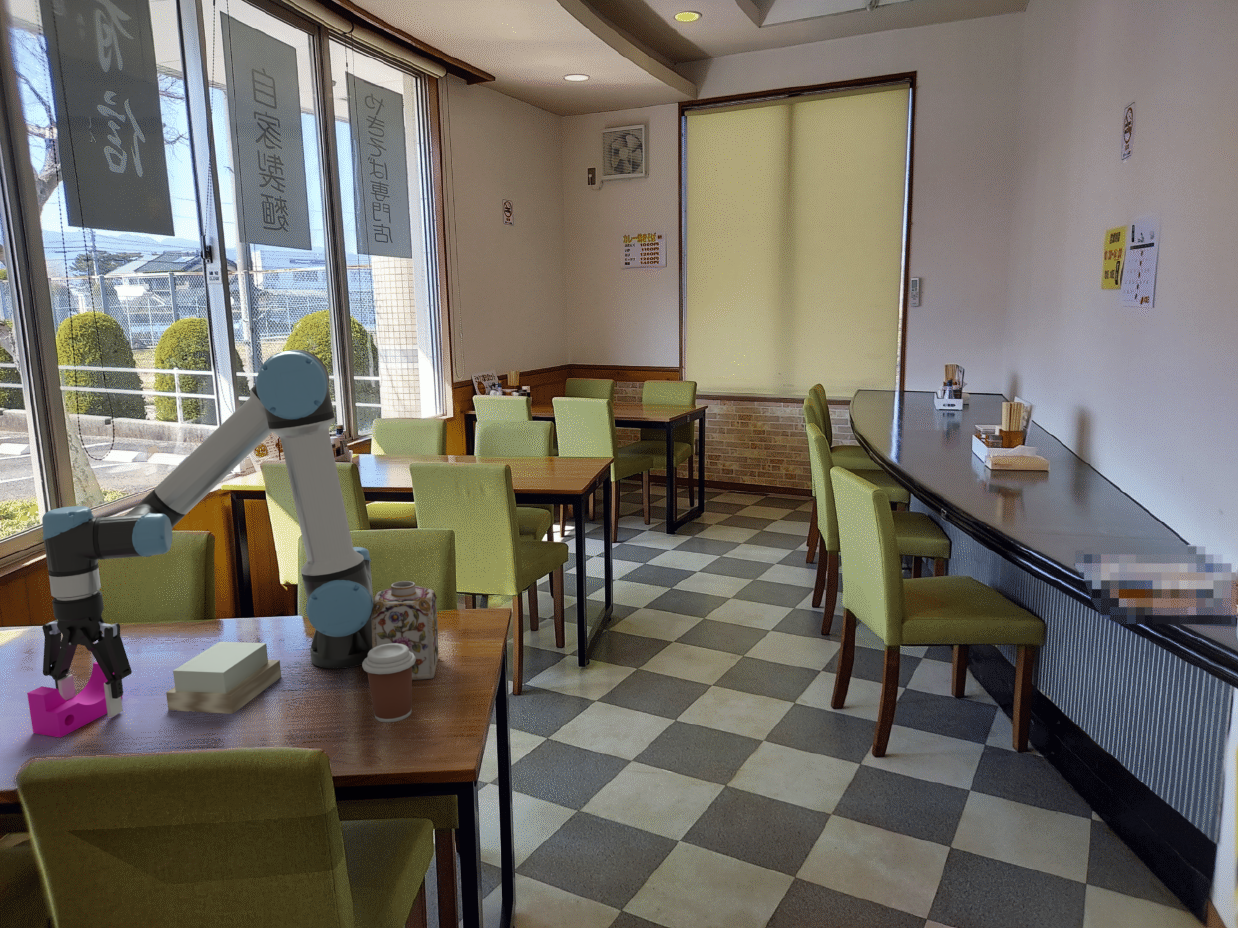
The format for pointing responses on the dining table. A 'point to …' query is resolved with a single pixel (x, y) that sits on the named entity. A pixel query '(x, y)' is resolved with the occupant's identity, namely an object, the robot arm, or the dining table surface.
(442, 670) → the dining table surface
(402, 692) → the coffee cup
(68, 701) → the toy block
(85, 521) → the robot arm
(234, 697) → the tower base slab
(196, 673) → the tower top slab
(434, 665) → the decorative jar
